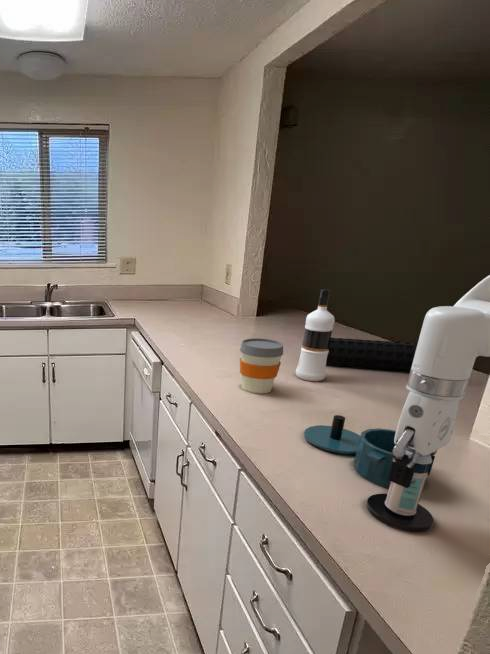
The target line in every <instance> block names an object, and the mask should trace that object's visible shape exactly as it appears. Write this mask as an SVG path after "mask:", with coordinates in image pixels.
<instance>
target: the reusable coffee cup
mask: <svg viewBox="0 0 490 654" xmlns="http://www.w3.org/2000/svg"><path fill="white" fill-rule="evenodd" d="M239 352H240V357H239V374H240V375H241V376H240V378H241V379H240V380H241V389H243V390H244V391H246V392H249V393H252V394H253V393H254V394H268V393H270V392H271V391H272V388H273V385H274V382H275V378H277V377H278V373H279V370H280V367H281V358H282V357H283V355H284V343H282V342H280V341H277V340H274V339H269V338H258V337H255V338H253V337H252V338H246V339H243V340H242V341H241V344H240V349H239Z"/></svg>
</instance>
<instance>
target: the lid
mask: <svg viewBox="0 0 490 654" xmlns="http://www.w3.org/2000/svg"><path fill="white" fill-rule="evenodd" d="M345 421H346V417H345V416H343V415H339V414H335V415H333V419H332V424H331V425H312V426H309V427H307V428H306V429H304V431H303V436H304V439H305V440H306V441H307V442H308V443H310V444H312V445H313V446H315V447H317V448H318V449H322V450H325V451H328V452H332V453H336V454H345V455H356V452H357V448H358V444H359V440H360V436H361V434H358V433H356V432H354V431H352V430H349V429H346V428H345V427H344V426H345Z"/></svg>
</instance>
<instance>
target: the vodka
mask: <svg viewBox="0 0 490 654" xmlns="http://www.w3.org/2000/svg"><path fill="white" fill-rule="evenodd" d="M330 292H331V290H330V289H327V288H323V289H320V294H319V299H318V305H317V308H316V309H315V310H313V311H311V312H309V313H308V314H307V316H306V318H305V325H304V331H303V332H304V333H303V338H302V343H301V344H302V345H301V347H300V354H299V355H300V356H299V360H298V362H297V363H298V364H297V367H296V370H295V376H296V377H297V378H298V379H301V380H302V381H307V382H321V381H323V380H325V378H326V375H327V364H326V360H327V355H328V352H329V344H330V339H331V338H332V334H333V330H334V325H335V321H336V319H335V316H334V315H333V314H332V313H331V312H330V311H329V310H327V309H328V302H329V298H330Z"/></svg>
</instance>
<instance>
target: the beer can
mask: <svg viewBox="0 0 490 654" xmlns="http://www.w3.org/2000/svg"><path fill="white" fill-rule="evenodd" d="M408 447H409V448H412V449H414V450H415V447H411V446H408ZM406 455H408V456H409V459H410V457H411V455H412V452H409V451H406ZM431 463H432V458H431V456H430V454H428V455H425V456H422V455H420V453H419V455H418V457H417V459H416V461H415V463H414V466H413V467H415V471H414V475H413V478H412V481H411V485H410V487H408V488H405V487H403V486H400V485H398V484H396V483H394V482H391V484H390V487H389V488H388V491H387V493H386V494H387V498H386V501H385V505H386V506H387V507H388V508H389V509H390V510H391V511H393V512H394V513H397V514H399V515H404V516H411V515H414V514H416V510H417V507H418V504H419V503H420V500H421V497H422V493H423V490H424V487H425V484H426V483H425V481H426V482H427V479H426V477H427V478H428V476H427V474H428V471H429V468H430V464H431Z"/></svg>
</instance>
